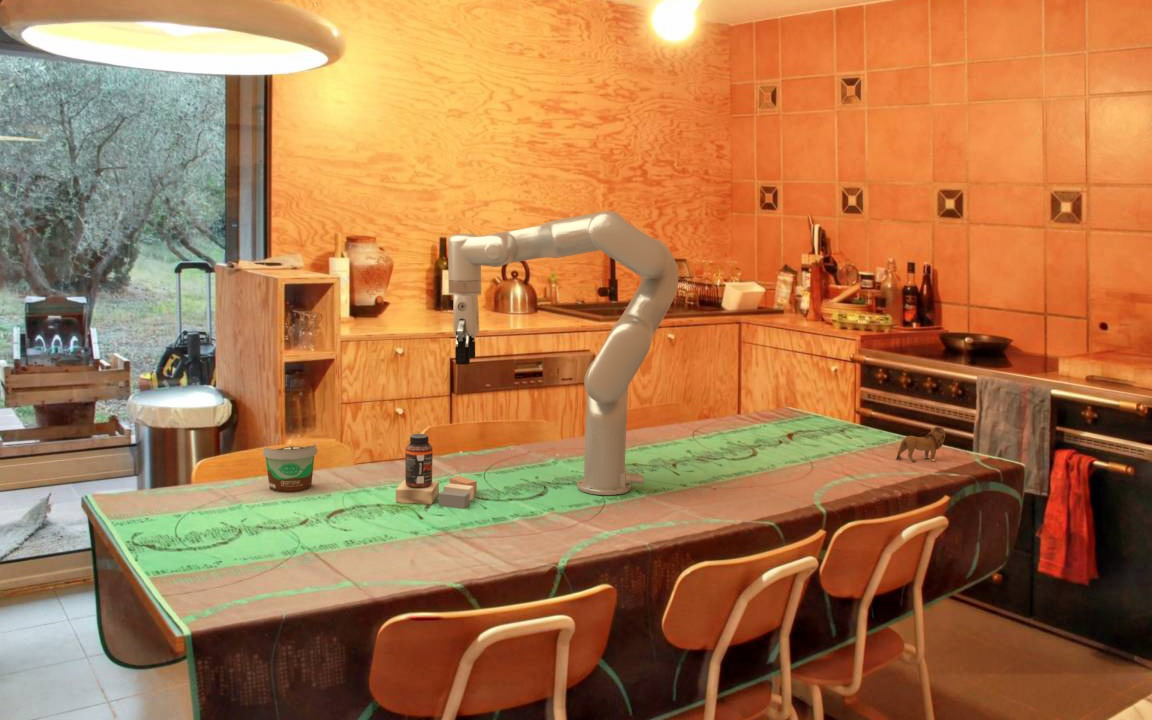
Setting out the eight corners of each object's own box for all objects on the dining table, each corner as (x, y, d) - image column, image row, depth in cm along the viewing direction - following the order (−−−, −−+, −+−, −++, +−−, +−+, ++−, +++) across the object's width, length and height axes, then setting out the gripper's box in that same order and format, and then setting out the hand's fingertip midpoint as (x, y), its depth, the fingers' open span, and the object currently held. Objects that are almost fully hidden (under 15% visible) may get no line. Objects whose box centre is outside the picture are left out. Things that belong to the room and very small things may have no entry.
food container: (268, 496, 235) (267, 452, 233) (262, 489, 240) (262, 446, 238) (323, 490, 240) (323, 447, 239) (317, 483, 246) (316, 441, 244)
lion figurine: (935, 456, 290) (938, 424, 288) (948, 461, 285) (951, 428, 283) (889, 459, 285) (892, 426, 283) (901, 464, 280) (904, 430, 278)
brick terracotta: (476, 494, 242) (476, 481, 241) (466, 496, 240) (466, 483, 239) (459, 488, 246) (459, 476, 245) (449, 491, 244) (449, 478, 243)
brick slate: (469, 506, 232) (469, 492, 232) (464, 509, 230) (464, 496, 229) (444, 503, 234) (444, 490, 234) (438, 506, 231) (438, 493, 231)
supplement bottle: (427, 489, 233) (427, 439, 231) (401, 487, 234) (401, 437, 232) (435, 482, 239) (436, 433, 237) (410, 480, 240) (410, 431, 238)
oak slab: (438, 494, 240) (438, 481, 239) (431, 504, 232) (431, 491, 232) (404, 492, 240) (404, 479, 240) (395, 502, 233) (395, 489, 232)
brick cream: (473, 499, 238) (473, 486, 237) (468, 502, 235) (468, 489, 234) (449, 496, 239) (449, 483, 239) (443, 499, 237) (443, 486, 236)
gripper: (476, 291, 235) (476, 367, 238) (485, 284, 253) (486, 355, 255) (442, 290, 236) (443, 366, 238) (454, 284, 253) (455, 355, 255)
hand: (465, 361), depth 247 cm, fingers open, 9 cm apart
